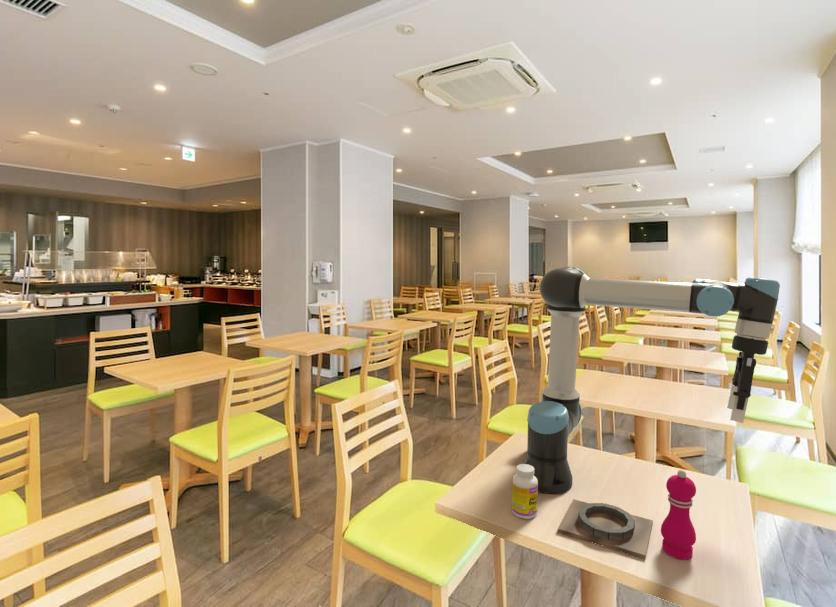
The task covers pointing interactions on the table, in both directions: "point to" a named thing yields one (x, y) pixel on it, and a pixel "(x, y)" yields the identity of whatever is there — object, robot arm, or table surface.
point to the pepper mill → (679, 517)
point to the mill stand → (607, 527)
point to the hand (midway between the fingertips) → (734, 415)
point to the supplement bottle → (524, 492)
